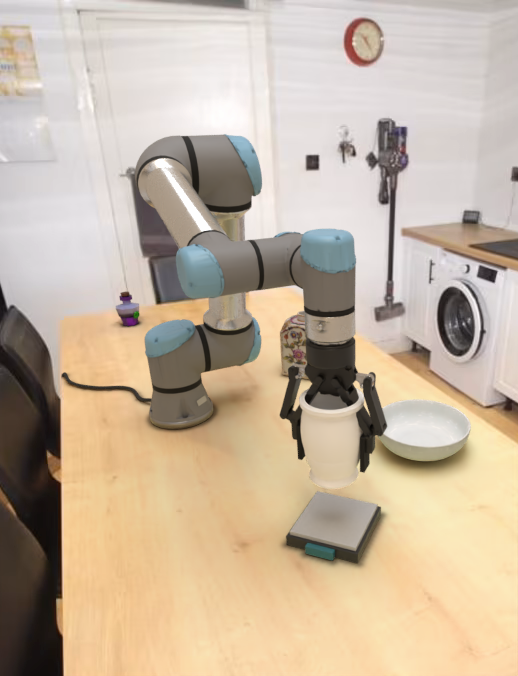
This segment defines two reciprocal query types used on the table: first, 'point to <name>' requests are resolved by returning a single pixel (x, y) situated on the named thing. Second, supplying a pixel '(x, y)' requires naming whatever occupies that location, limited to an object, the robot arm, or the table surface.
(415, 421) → the serving bowl
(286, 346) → the decorative jar
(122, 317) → the potion bottle
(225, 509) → the table surface
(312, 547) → the scale
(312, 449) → the jar
